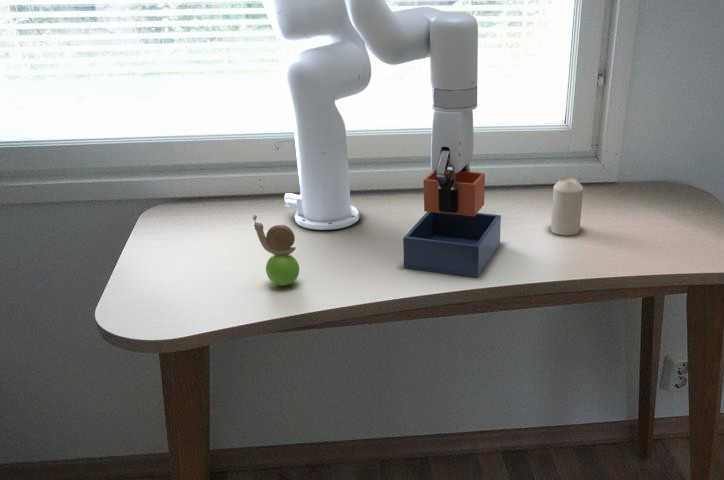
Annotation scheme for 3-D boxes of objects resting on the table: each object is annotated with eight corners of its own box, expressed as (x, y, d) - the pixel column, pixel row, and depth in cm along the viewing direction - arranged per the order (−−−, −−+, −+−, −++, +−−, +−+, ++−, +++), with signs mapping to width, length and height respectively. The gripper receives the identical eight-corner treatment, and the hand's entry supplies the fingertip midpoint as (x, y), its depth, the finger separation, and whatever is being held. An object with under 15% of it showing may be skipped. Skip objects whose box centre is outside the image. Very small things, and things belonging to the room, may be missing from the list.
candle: (578, 237, 157) (582, 185, 152) (549, 234, 158) (552, 183, 152) (580, 226, 162) (585, 175, 156) (552, 224, 162) (555, 173, 157)
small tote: (424, 211, 143) (423, 179, 140) (435, 199, 148) (435, 168, 145) (474, 216, 141) (474, 184, 138) (484, 203, 146) (485, 173, 143)
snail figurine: (263, 278, 141) (254, 209, 134) (302, 276, 141) (294, 208, 135) (260, 291, 136) (250, 222, 130) (299, 290, 137) (292, 220, 130)
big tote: (403, 267, 145) (402, 237, 142) (431, 236, 157) (430, 207, 154) (478, 277, 141) (478, 246, 138) (499, 244, 154) (501, 215, 151)
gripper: (447, 84, 142) (448, 187, 152) (414, 108, 128) (417, 219, 138) (490, 87, 140) (488, 191, 150) (461, 111, 126) (461, 224, 136)
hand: (454, 203), depth 144 cm, fingers closed on small tote, 6 cm apart
